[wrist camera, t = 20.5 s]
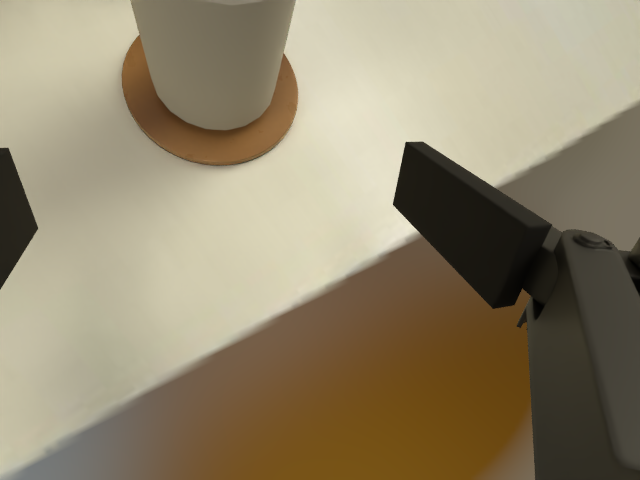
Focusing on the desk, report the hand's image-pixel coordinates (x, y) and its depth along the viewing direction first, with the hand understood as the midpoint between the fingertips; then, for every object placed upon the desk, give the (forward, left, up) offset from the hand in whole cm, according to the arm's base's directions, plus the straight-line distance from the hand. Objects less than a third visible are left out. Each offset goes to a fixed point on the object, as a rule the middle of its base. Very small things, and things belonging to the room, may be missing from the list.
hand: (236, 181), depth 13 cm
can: (-8, +7, -10) cm, 14 cm away
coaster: (-8, +7, -10) cm, 15 cm away
